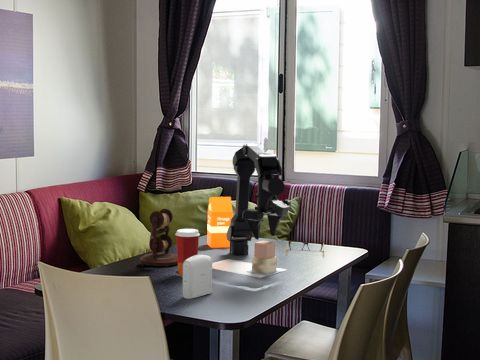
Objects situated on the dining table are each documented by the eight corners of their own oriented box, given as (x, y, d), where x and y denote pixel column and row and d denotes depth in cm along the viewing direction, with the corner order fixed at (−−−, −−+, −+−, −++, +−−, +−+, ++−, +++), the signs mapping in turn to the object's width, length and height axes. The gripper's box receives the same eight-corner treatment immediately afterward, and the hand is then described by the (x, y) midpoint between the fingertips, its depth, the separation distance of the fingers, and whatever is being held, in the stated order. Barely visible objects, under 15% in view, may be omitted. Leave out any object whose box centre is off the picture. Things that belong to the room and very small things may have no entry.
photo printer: (190, 300, 222) (191, 258, 221) (180, 297, 225) (180, 256, 223) (214, 293, 230) (214, 253, 228) (203, 291, 232) (204, 251, 231)
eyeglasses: (323, 251, 301) (323, 241, 300) (323, 258, 287) (323, 248, 286) (287, 249, 302) (288, 240, 302) (286, 257, 288) (286, 246, 288)
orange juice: (207, 244, 309) (207, 195, 307) (228, 243, 311) (228, 195, 309) (210, 247, 302) (211, 198, 300) (232, 247, 304) (233, 198, 302)
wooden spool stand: (151, 259, 277) (152, 205, 275) (188, 263, 272) (189, 208, 270) (132, 267, 263) (132, 211, 261) (170, 271, 258) (170, 214, 256)
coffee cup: (203, 272, 257) (203, 229, 256) (193, 277, 250) (194, 233, 248) (180, 270, 260) (180, 227, 259) (170, 275, 252) (171, 231, 251)
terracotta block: (254, 257, 255) (254, 242, 255) (262, 254, 259) (263, 240, 259) (266, 259, 252) (266, 244, 252) (274, 256, 256) (275, 242, 256)
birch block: (251, 271, 256) (252, 257, 255) (262, 268, 260) (262, 254, 260) (266, 274, 252) (266, 259, 251) (276, 271, 257) (276, 256, 256)
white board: (199, 268, 263) (199, 265, 263) (228, 261, 276) (228, 258, 276) (261, 280, 247) (261, 277, 247) (288, 272, 260) (288, 269, 260)
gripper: (269, 196, 241) (268, 244, 243) (301, 191, 256) (300, 236, 257) (242, 193, 248) (241, 240, 249) (274, 188, 263) (273, 233, 264)
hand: (265, 237), depth 255 cm, fingers open, 9 cm apart
